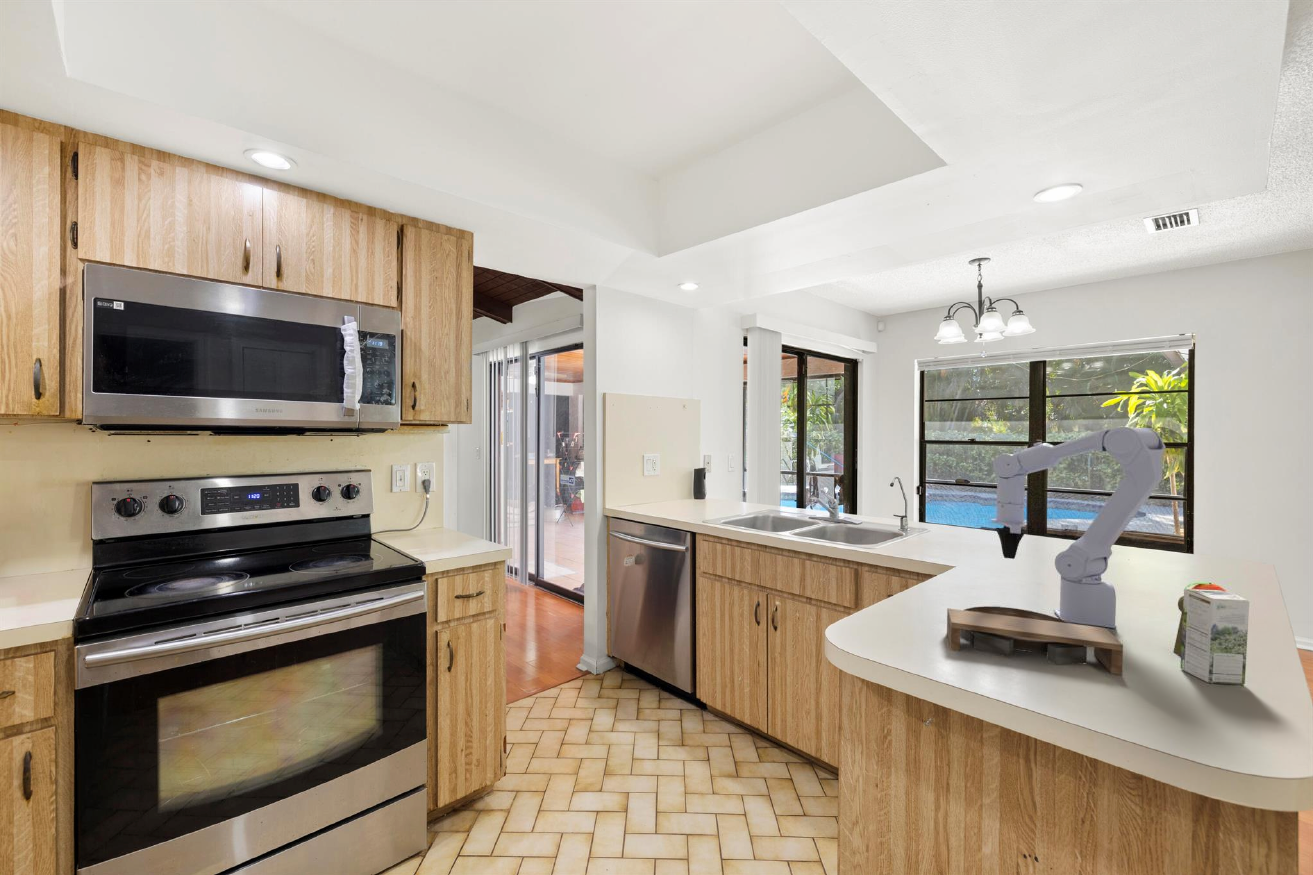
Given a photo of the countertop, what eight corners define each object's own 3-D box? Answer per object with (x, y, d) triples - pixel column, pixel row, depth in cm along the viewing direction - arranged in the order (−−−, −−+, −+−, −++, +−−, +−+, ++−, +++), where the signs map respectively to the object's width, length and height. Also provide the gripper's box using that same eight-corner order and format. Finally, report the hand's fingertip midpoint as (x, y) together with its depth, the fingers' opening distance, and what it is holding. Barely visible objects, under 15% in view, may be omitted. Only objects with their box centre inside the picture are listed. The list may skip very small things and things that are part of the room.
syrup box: (1215, 671, 98) (1217, 588, 97) (1247, 686, 92) (1250, 598, 92) (1179, 669, 98) (1182, 587, 98) (1209, 684, 92) (1212, 597, 92)
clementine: (1186, 613, 129) (1187, 583, 129) (1178, 605, 135) (1179, 576, 135) (1235, 620, 125) (1236, 588, 125) (1224, 611, 131) (1225, 581, 131)
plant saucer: (969, 649, 107) (970, 632, 107) (950, 615, 126) (950, 600, 126) (1099, 665, 100) (1100, 647, 100) (1058, 627, 119) (1058, 611, 119)
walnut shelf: (1103, 655, 104) (1104, 627, 104) (1122, 675, 95) (1122, 644, 95) (946, 633, 114) (947, 608, 114) (951, 649, 106) (951, 622, 106)
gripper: (987, 498, 145) (985, 550, 146) (996, 505, 132) (995, 562, 132) (1018, 500, 143) (1017, 553, 143) (1031, 507, 129) (1030, 565, 130)
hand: (1009, 557), depth 137 cm, fingers closed
